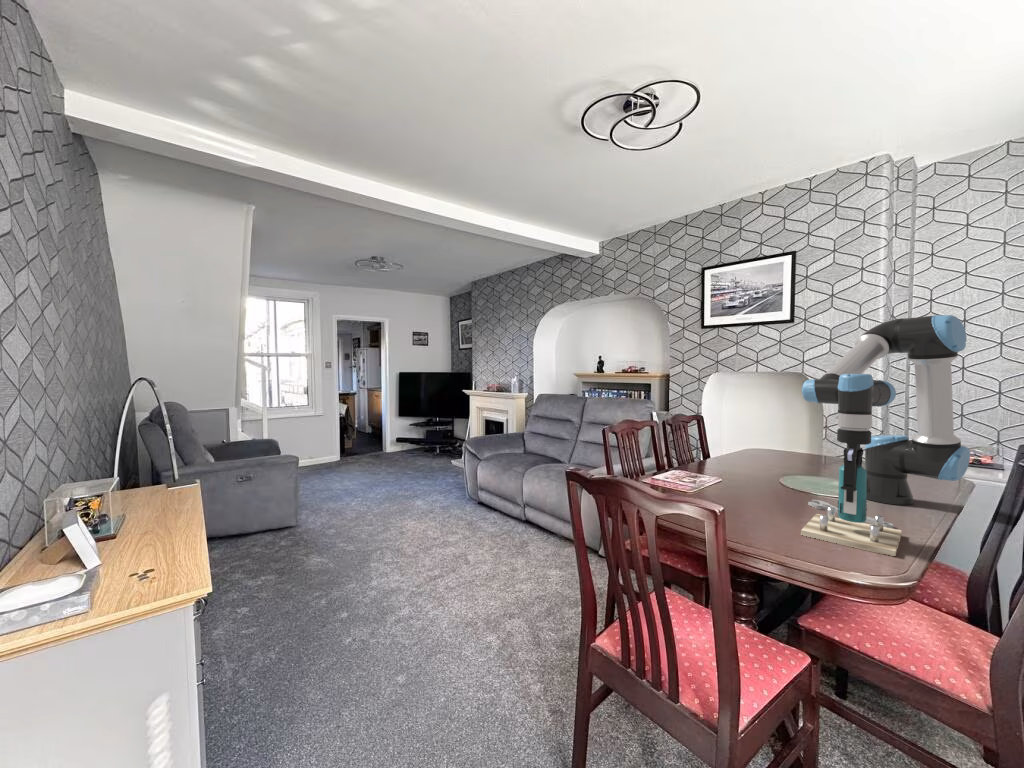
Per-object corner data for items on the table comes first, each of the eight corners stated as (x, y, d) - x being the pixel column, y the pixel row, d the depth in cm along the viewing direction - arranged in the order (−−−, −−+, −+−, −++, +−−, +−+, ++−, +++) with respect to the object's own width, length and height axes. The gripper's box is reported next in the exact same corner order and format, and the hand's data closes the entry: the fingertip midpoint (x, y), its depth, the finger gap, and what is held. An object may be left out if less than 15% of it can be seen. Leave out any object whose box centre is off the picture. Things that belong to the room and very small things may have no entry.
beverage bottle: (872, 528, 119) (874, 455, 118) (850, 528, 119) (852, 456, 118) (852, 519, 126) (854, 451, 125) (830, 520, 125) (832, 451, 124)
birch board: (816, 518, 136) (816, 513, 136) (901, 535, 122) (901, 530, 122) (800, 535, 122) (801, 530, 122) (895, 557, 108) (895, 551, 108)
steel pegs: (828, 519, 131) (828, 506, 131) (883, 530, 122) (883, 516, 122) (819, 530, 122) (819, 516, 122) (878, 543, 113) (878, 527, 113)
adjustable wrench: (896, 530, 128) (896, 524, 128) (879, 532, 127) (879, 526, 127) (817, 503, 152) (817, 498, 152) (802, 505, 151) (803, 500, 151)
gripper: (843, 424, 131) (841, 500, 131) (830, 430, 117) (828, 515, 118) (875, 426, 125) (873, 505, 126) (866, 433, 112) (864, 522, 112)
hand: (851, 510), depth 122 cm, fingers closed on beverage bottle, 6 cm apart
